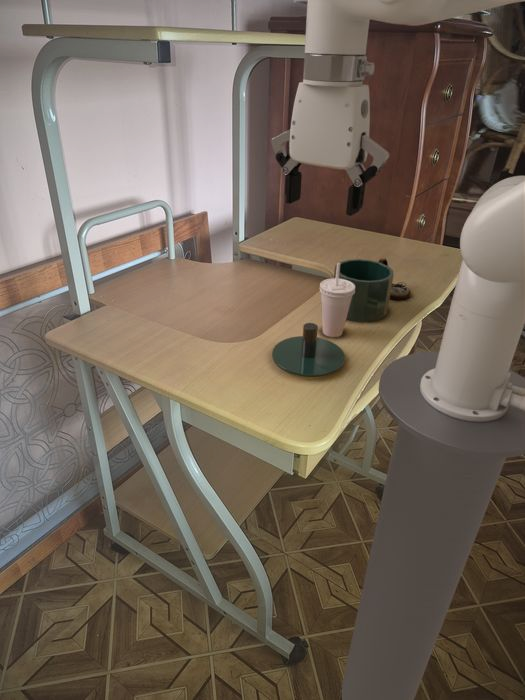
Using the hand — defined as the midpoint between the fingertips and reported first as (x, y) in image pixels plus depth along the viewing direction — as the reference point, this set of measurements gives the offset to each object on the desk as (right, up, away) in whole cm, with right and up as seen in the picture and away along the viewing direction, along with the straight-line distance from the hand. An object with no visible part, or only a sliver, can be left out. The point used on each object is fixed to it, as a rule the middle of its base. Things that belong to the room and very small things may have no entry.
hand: (322, 207), depth 72 cm
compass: (+20, -8, +38) cm, 44 cm away
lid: (-1, -22, +14) cm, 26 cm away
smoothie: (+5, -17, +22) cm, 29 cm away
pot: (+11, -12, +31) cm, 35 cm away
